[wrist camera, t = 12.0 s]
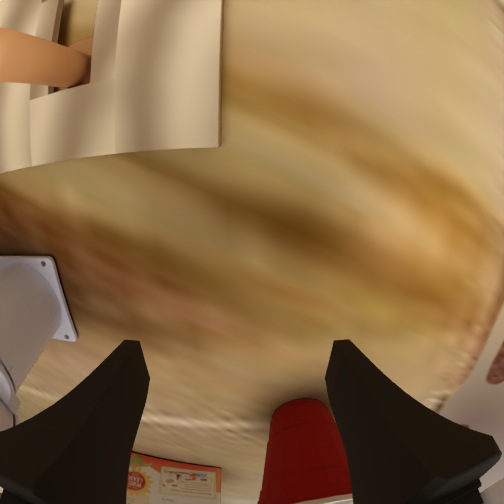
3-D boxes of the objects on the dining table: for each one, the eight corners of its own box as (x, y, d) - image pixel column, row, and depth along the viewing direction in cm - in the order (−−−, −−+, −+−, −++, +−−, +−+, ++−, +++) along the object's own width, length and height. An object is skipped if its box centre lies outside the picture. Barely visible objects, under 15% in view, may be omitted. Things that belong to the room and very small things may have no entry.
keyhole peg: (60, 117, 15) (-37, 127, 7) (53, 57, 13) (-38, 40, 5) (121, 92, 15) (33, 75, 7) (112, 29, 13) (34, -18, 5)
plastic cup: (243, 442, 29) (246, 535, 18) (249, 383, 24) (254, 508, 13) (335, 437, 29) (356, 521, 18) (363, 378, 25) (404, 484, 14)
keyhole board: (-2, 172, 16) (-18, 177, 14) (27, -52, 7) (16, -59, 6) (220, 145, 17) (218, 147, 15) (231, -108, 8) (230, -121, 6)
